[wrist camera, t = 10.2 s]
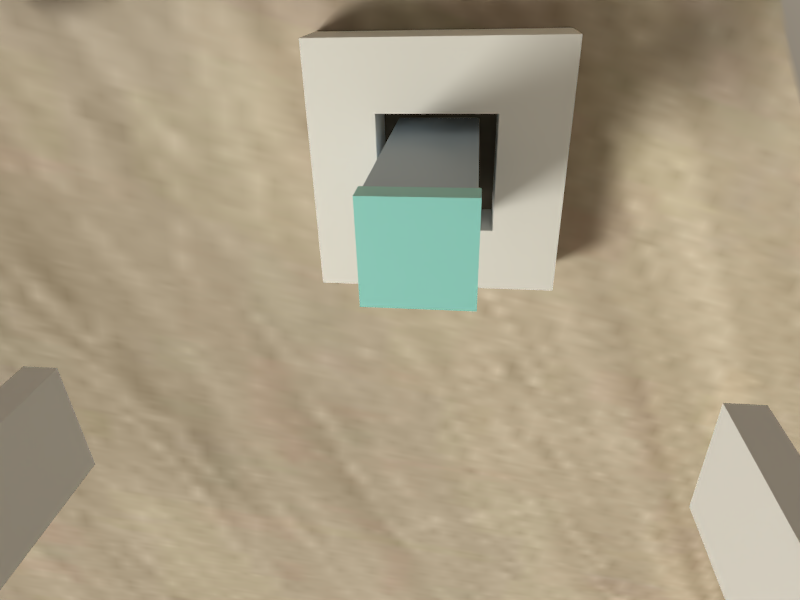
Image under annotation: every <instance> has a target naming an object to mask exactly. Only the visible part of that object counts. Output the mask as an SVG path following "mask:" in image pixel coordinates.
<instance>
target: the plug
mask: <svg viewBox="0 0 800 600" xmlns="http://www.w3.org/2000/svg"><path fill="white" fill-rule="evenodd" d="M481 204H482V188H479V118H399V120H398V121H397V123H396V125H395V127H394V129H393V131H392V133H391V134H390V136H389V138H388V140H387V142H386V144H385V146H384V147H383V149H382V151H381V153H380V155H379V157H378V159H377V160H376V162H375V164H374V166H373V168H372V170H371V172H370V173H369V175H368V177H367V179H366V181H365V183H364V185H363V186H358V187H357V189H356V191H355V193H354V194H353V209H354V224H355V239H356V254H357V269H358V284H359V299H360V307H381V308H406V309H431V310H456V311H477V290H478V269H479V247H480V226H481Z"/></svg>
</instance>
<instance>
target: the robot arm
mask: <svg viewBox="0 0 800 600" xmlns="http://www.w3.org/2000/svg"><path fill="white" fill-rule="evenodd" d="M94 465H95V462H94V460H93V457H92V455H91V452H90V450H89V447H88V445H87V442H86V440H85V437H84V435H83V432H82V430H81V427H80V425H79V422H78V420H77V417H76V415H75V412H74V410H73V407H72V405H71V402H70V399H69V397H68V394H67V392H66V389H65V387H64V384H63V382H62V379H61V377H60V374H59V372H58V369H57V368H44V367H25V366H23V367H22V368H21V369H20V370H19V371H17V372H16V373H15V374H14V375H13V376H12V377H11V378H10V379H9V380H7V381H6V382H5V383H4V384H3V385H2V386H1V387H0V589H1V588H2V587H3V586H4V584H5V583H6V582H7V580H8V579H9V578H10V576H11V575H12V574H13V572H14V571H15V570H16V568H17V567H18V566H19V564H20V563H21V562H22V560H23V559H24V558H25V556H26V555H27V554H28V552H29V551H30V550H31V548H32V547H33V546H34V544H35V543H36V542H37V540H38V539H39V538H40V536H41V535H42V534H43V533H44V531H45V530H46V529H47V527H48V526H49V525H50V523H51V522H52V521H53V519H54V518H55V517H56V515H57V514H58V513H59V511H60V510H61V509H62V507H63V506H64V505H65V503H66V502H67V501H68V499H69V498H70V497H71V495H72V494H73V493H74V491H75V490H76V489H77V487H78V486H79V485H80V484H81V482H82V481H83V480H84V478H85V477H86V476H87V474H88V473H89V472H90V470H91V469H92V468H93V466H94ZM689 507H690V509H691V512H692V515H693V517H694V520H695V522H696V525H697V528H698V530H699V533H700V535H701V538H702V541H703V543H704V546H705V548H706V551H707V554H708V556H709V559H710V561H711V564H712V567H713V569H714V572H715V574H716V577H717V580H718V582H719V585H720V588H721V590H722V593H723V595H724V598H725V600H800V455H799V453H798V452H797V450H796V449H795V447H794V446H793V444H792V443H791V441H790V439H789V438H788V436H787V435H786V433H785V432H784V430H783V429H782V427H781V425H780V424H779V422H778V421H777V419H776V418H775V416H774V415H773V413H772V411H771V410H770V408H769V407H768V405H750V404H731V403H723V405H722V408H721V411H720V414H719V417H718V420H717V423H716V426H715V429H714V432H713V436H712V439H711V442H710V445H709V448H708V451H707V454H706V457H705V460H704V463H703V466H702V469H701V473H700V476H699V479H698V482H697V485H696V488H695V491H694V494H693V497H692V500H691V503H690V506H689Z"/></svg>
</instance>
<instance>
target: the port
mask: <svg viewBox="0 0 800 600" xmlns="http://www.w3.org/2000/svg"><path fill="white" fill-rule="evenodd" d="M582 36H583V34H582V33H580V32H579V31H577V30H576V29H574V28H511V29H447V30H382V31H317V32H313V33H311V34H308V35H305V36H303V37H300V38H299V45H300V55H301V65H302V75H303V85H304V95H305V105H306V115H307V125H308V135H309V145H310V155H311V165H312V175H313V185H314V195H315V205H316V215H317V225H318V235H319V245H320V255H321V265H322V275H323V282H325V283H354V284H358V269H357V254H356V239H355V224H354V209H353V194H354V193H355V191H356V189H357V187H358V186H363V185H364V183H365V181H366V179H367V177H368V175H369V173H370V172H371V170H372V168H373V166H374V164H375V162H376V160H377V159H378V157H379V155H380V153H381V151H382V149H383V147H384V146H385V144H386V136H385V114H497V122H496V140H495V157H494V175H493V193H492V209H481V226H480V247H479V269H478V288H496V289H524V290H553V281H554V273H555V264H556V256H557V248H558V239H559V231H560V222H561V214H562V205H563V197H564V188H565V180H566V171H567V163H568V155H569V146H570V138H571V129H572V121H573V112H574V104H575V95H576V87H577V78H578V70H579V62H580V53H581V45H582Z"/></svg>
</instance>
